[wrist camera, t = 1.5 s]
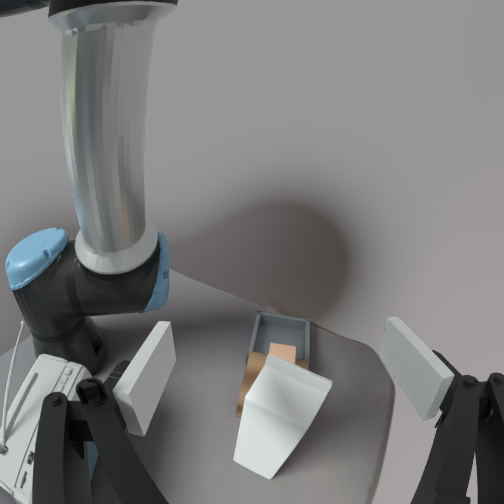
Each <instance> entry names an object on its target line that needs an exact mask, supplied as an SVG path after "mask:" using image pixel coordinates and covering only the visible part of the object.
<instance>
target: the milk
mask: <svg viewBox="0 0 504 504" xmlns="http://www.w3.org/2000/svg"><path fill="white" fill-rule="evenodd" d="M332 382H333V381H332V380H329V379H327V378H325V377H322V376H320V375H318V374H315V373H313V372H311V371H309V370H306V369H304V368H302V367H300V366H298V365H295V364H293V363H291V362H289V361H287V360H285V359H283V358H280V357H278V356H277V357H275V356H273V355H267V357H266V361H265V365H264V367H263V369H262V370H261V372H260V374H259V375H258V377H257V378H256V380H255V382H254V383H253V385H252V387H251V388H250V390H249V391H248V393H247V395H246V396H245V400H244V406H243V411H242V417H241V422H240V428H239V433H238V439H237V444H236V449H235V455H234V461H235V462H237V463H239V464H241V465H243V466H244V467H246V468H248V469H250V470H252V471H254V472H256V473H258V474H260V475H262V476H264V477H266V478H268V479H271V478H272V477H273V476H274V475H275V473H276V472H277V471H278V470H279V468H280V467H281V466H282V464H283V463H284V462H285V461H286V459H287V458H288V457H289V455H290V454H291V452H292V451H293V450H294V448H295V447H296V446H297V444H298V443H299V441H300V440H301V438H302V437H303V435H304V434H305V433H306V431H307V430H308V428H309V426H310V425H311V423H312V421H313V420H314V418H315V416H316V414H317V412H318V411H319V409H320V407H321V405H322V403H323V402H324V400H325V398H326V396H327V394H328V392H329V390H330V389H331V387H332Z"/></svg>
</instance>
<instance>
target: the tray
mask: <svg viewBox="0 0 504 504" xmlns="http://www.w3.org/2000/svg"><path fill="white" fill-rule="evenodd" d="M270 343H277V344H283V345H289V346H296V355H295V359H302V360H309V362H310V320H309V319H302V318H296V317H289V316H283V315H277V314H271V313H266V312H260V311H257V315H256V319H255V323H254V328H253V332H252V336H251V340H250V344H249V349H248V353H247V359H246V365H247V362H248V358H249V353H250V351H252V352H258V353H263V354H268V352H269V348H270Z"/></svg>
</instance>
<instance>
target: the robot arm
mask: <svg viewBox="0 0 504 504" xmlns="http://www.w3.org/2000/svg"><path fill="white" fill-rule="evenodd" d="M177 3H178V0H0V18H1V17H7V16H12V15H17V14H21V13H25V12H29V11H33V10H36V9H40V8H43V7H47V6H50V7H49V14H48V22H49V23H50V24H52V25H53V26H54V27H55V28H57V29H58V30H59V31H60V32H61V34H62V46H61V69H60V91H61V113H62V126H63V136H64V145H65V153H66V160H67V167H68V173H69V179H70V184H71V189H72V194H73V199H74V204H75V208H76V213H77V217H78V221H79V225H80V229H81V230H80V231H79V233H78V235H77V237H76V240H69V237H68V234H67V233H66V231H65V230H64V229H60V228H49V229H45V230H42V231H39V232H37V233H34V234H32V235H30V236H28V237H27V238H25V239H24V240H22V241H21V242H20V243H18V244H17V245H16V246H15V247H14V248H13V249H12V250H11V252H10V253H9V255H8V257H7V259H6V271H7V275H8V279H9V283H10V288H11V289H12V291H13V293H14V296H15V298H16V301H17V303H18V305H19V308H20V310H21V312H22V314H23V316H24V319H25V321H26V323H27V325H28V327H29V329H30V331H31V333H32V337H33V344H34V350H35V355H36V359H38V357H39V355H42V354H47V355H51V356H55V357H59V358H63V359H65V360H67V361H68V362H70V361H71V362H74V363H77V364H80V365H83V366H85V367H86V369H87V370H88V371H89V372H90V374H91V375H93V374H95V373H96V372H97V371H98V370H99V369H100V367H101V366H102V364H103V363H104V360H105V358H106V354H107V346H106V342H105V339H104V336H103V333H102V332H101V330H100V328H99V327H98V326H97V325H96V323H95V322H94V321H93V320H92V318H91V317H90V316H98V315H110V314H123V313H136V312H139V313H144V312H146V311H150V310H156V309H160V308H161V307H163V306H164V305H165V303H166V301H167V298H168V292H169V266H170V265H169V250H168V249H169V248H168V243H167V238H166V236H165V235H164V234H163V233H159V232H157V230H156V227H155V225H154V224H153V222H152V221H151V220H150V219H149V218H148V217H146V216H145V200H144V199H145V196H144V136H145V115H146V100H147V88H148V78H149V68H150V60H151V53H152V46H153V38H154V33H155V27H156V25H157V23H158V22H159V21H160V20H162V19H163V18H164V17H166V16H167V15H168V14H169V13H171V12H172V11H174V10H175V9H176V7H177ZM379 355H380V357H381V358H382V360H383V361H384V362H385V364H386V365H387V367H388V368H389V370H390V371H391V373H392V374H393V375H394V377H395V378H396V380H397V381H398V383H399V384H400V386H401V387H402V389H403V390H404V392H405V393H406V395H407V396H408V398H409V399H410V401H411V402H412V404H413V405H414V407H415V408H416V410H417V412H418V413H419V415H420V416H421V418H422V419H423V421H424V420H427V419H430V418H433V417H435V415H436V414H437V412H438V410H439V408H440V410H441V411H442V415H441V416H440V418H439V420H438V422H437V423H436V425H435V428H436V427H437V425H438V427H437V431H436V434H435V438H434V442H433V445H432V448H431V451H430V455H429V458H428V461H427V464H426V466H425V469H424V472H423V475H422V477H421V480H420V483H419V485H418V488H417V490H416V492H415V495H414V497H413V499H412V501H411V504H470V497H466V492H467V488H468V484H469V479H470V474H471V469H472V464H473V459H474V453H475V455H476V465H477V483H478V504H504V375H503V374H501V373H492V374H490V376H489V378H488V380H487V381H485V382H479V381H478V380H477V379H476V378H475V377H472V376H470V375H463V376H462V375H461V374H460V373H459V372H458V371H457V370H456V369H455V368H454V367H453V366H452V365H451V364H449V362H448V361H447V360H446V359H445V358H444V357H443V356H442V355H441V354H440V353H438V352H436V351H434V350H432V351H431V350H430V349H429V348H428V347H427V346H426V345H425V344H424V343H423V342H422V341H421V340H420V339H419V338H418V337H417V336H416V335H415V334H414V333H413V332H412V331H411V330H410V329H409V328H408V327H407V326H406V325H405V324H404V323H403V322H402V321H401V320H400V319H399V318H398V317H390V318H387V321H386V326H385V331H384V335H383V340H382V344H381V348H380V353H379ZM175 362H176V354H175V348H174V342H173V335H172V328H171V322H166V321H158V323H157V324H156V326H155V327H154V329H153V330H152V332H151V333H150V334H149V336H148V337H147V339H146V340H145V342H144V343H143V345H142V346H141V348H140V349H139V351H138V352H137V354H136V355H135V357H134V358H133V360H132V361H126V360H123V361H122V362H120V363H119V364H117V365H116V367H115V368H114V369H113V372H111V374H110V375H109V377H108V378H107V379H106V381H105V382H104V384H103V383H102V381H101V380H99V379H97V378H86V379H84V380H81V381H80V382H79V383H78V384H77V385H76V393H77V395H78V397H79V399H80V401H69V400H68V398H67V396H66V395H65V394H64V393H62V392H52V393H50V394H48V395H47V396H45V398H44V400H43V403H42V408H41V413H40V419H39V424H38V431H37V437H36V445H35V454H34V464H33V480H32V504H93V500H92V493H91V485H90V476H89V464H88V447H87V441H91V442H95V445H96V448H97V450H98V453H99V455H100V457H101V460H102V462H103V465H104V467H105V469H106V471H107V474H108V476H109V478H110V480H111V482H112V484H113V486H114V488H115V490H116V492H117V494H118V496H119V498H120V500H121V501H122V503H123V504H169V503H168V502H167V501H166V499H165V498H164V496H163V495H162V494H161V492H160V491H159V489H158V488H157V486H156V485H155V483H154V482H153V480H152V479H151V477H150V476H149V474H148V472H147V471H146V469H145V468H144V466H143V464H142V463H141V461H140V459H139V458H138V456H137V454H136V452H135V451H134V449H133V447H132V445H131V443H130V441H129V440H128V438H127V436H126V434H125V432H124V429H125V427H126V426H127V429H128V431H129V433H130V434H135V435H140V436H145V434H146V432H147V429H148V427H149V424H150V422H151V419H152V417H153V414H154V412H155V410H156V407H157V405H158V402H159V400H160V397H161V395H162V393H163V390H164V388H165V385H166V383H167V381H168V378H169V376H170V374H171V371H172V369H173V367H174V364H175ZM492 411H493V412H492Z"/></svg>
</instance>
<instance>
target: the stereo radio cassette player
mask: <svg viewBox="0 0 504 504" xmlns="http://www.w3.org/2000/svg"><path fill="white" fill-rule="evenodd" d="M21 325H22V327H21V330H20V334H21V331H22V328H23V326H24V325H25V322H24V321H22V322H21ZM20 334H19V336H18V340H17V344H16V346H15V350H14V355H13V357H12V362H11V367H10V372H9V376H8V381H7V388H6V394H5V402H4V411H3V423H2V426H1V429H0V486H1V487H3V488H4V489H5V490H6V491H7V492H9V493H10V494H11V495H13V496H15V498H16V499H17V500H18V501H20V502H21V503H23V504H32V480H33V464H34V454H35V445H36V437H37V431H38V424H39V419H40V413H41V408H42V403H43V400H44V398H45V396H47V395H48V394H50V393H52V392H62V393H64V394H65V395H66V396H67V398H68V400H69V401H80V399H79V397H78V395H77V393H76V385H77V384H78V383H79V382H80V381H81V380H84V379H86V378H93V377H92V375H91V374H90V372H89V371H88V370H87V369H86V367H85V366H83V365H80V364H77V363H74V362H71V361H70V362H68V361H67V360H65V359H63V358H59V357H55V356H51V355H47V354H42V355H39V357H38V359H37V360H36V362H35V364H34V365H33V367H32V369H31V370H30V372H29V374H28V375H27V377H26V379H25V381H24V383H23V384H22V386H21V388H20V390H19V392H18V394H17V395H16V397H15V399H14V401H13V403H12V405H11V407H10V409H9V411H8V413H7V409H8V401H9V393H10V387H11V381H12V374H13V368H14V364H15V357H16V353H17V349H18V344H19V339H20V336H21V335H20ZM87 447H88V464H89V476H90V484H91V480H92V476H93V473H94V469H95V465H96V462H97V458H98V455H99V453H98V450H97V448H96V445H95V442H91V441H87Z"/></svg>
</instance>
